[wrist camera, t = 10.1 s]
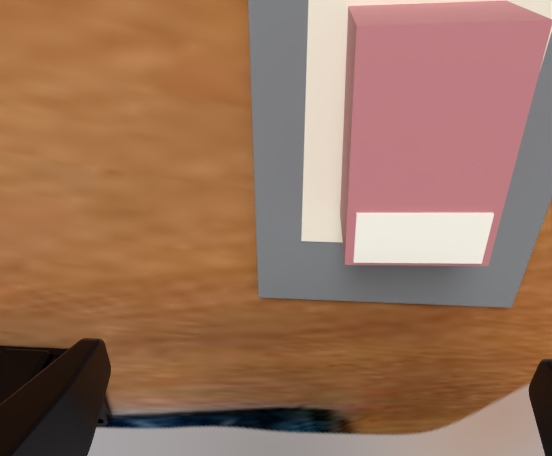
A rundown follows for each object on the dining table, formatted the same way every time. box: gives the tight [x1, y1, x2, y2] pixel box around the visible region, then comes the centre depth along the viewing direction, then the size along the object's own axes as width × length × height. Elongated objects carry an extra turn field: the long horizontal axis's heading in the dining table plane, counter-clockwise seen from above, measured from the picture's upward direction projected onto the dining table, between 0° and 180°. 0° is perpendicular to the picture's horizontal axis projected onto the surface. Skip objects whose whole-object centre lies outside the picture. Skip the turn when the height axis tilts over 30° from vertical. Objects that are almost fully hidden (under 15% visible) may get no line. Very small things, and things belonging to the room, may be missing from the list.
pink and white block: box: [340, 1, 552, 266], centre depth 16 cm, size 5×8×4 cm, turn 2°
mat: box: [248, 0, 552, 308], centre depth 18 cm, size 18×12×1 cm, turn 0°
